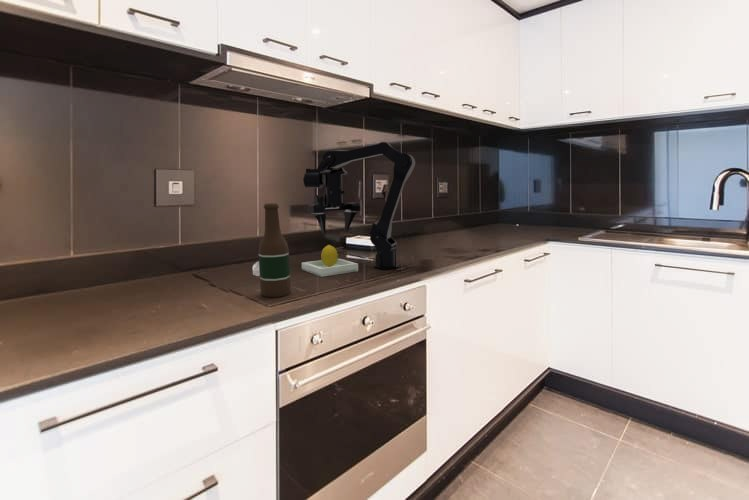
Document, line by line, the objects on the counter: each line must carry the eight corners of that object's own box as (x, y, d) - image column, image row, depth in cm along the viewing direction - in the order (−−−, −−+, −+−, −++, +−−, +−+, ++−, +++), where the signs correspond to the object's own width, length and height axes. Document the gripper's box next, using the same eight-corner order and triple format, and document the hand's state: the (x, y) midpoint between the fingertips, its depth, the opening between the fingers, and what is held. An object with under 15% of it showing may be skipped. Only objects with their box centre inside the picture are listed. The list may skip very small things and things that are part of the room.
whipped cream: (278, 277, 134) (279, 262, 133) (260, 278, 129) (261, 263, 128) (265, 272, 139) (266, 258, 138) (247, 273, 134) (248, 259, 134)
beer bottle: (276, 299, 103) (270, 204, 99) (254, 295, 107) (248, 204, 104) (297, 292, 110) (292, 202, 106) (276, 288, 114) (271, 202, 110)
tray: (337, 264, 147) (337, 258, 147) (358, 271, 136) (358, 263, 136) (301, 269, 139) (301, 262, 139) (320, 276, 128) (320, 269, 128)
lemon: (339, 266, 140) (338, 243, 139) (336, 269, 135) (335, 245, 133) (323, 266, 141) (322, 243, 139) (319, 269, 135) (319, 245, 134)
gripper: (345, 187, 153) (346, 228, 156) (299, 188, 143) (301, 232, 145) (361, 187, 144) (362, 231, 147) (313, 188, 134) (315, 235, 136)
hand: (335, 232), depth 144 cm, fingers open, 9 cm apart
